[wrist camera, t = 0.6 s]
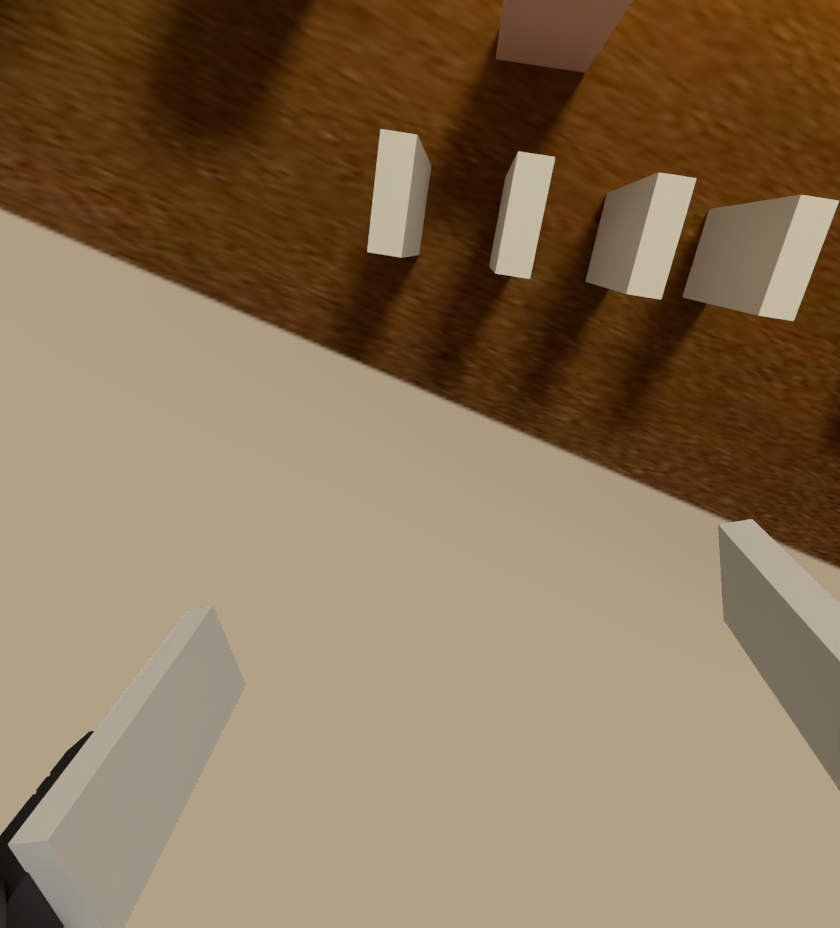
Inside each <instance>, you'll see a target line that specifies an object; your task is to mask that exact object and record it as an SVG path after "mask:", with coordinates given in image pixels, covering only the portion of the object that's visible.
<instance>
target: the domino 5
mask: <svg viewBox="0 0 840 928" xmlns="http://www.w3.org/2000/svg"><path fill="white" fill-rule="evenodd" d="M838 202H839V201H838V200H831V199H825V198H818V197H812V196H806V195H796V196H790V197H784V198H778V199H771V200H765V201H759V202H753V203H746V204H740V205H734V206H727V207H721V208H715V209H709V211H708V214H707V218H706V221H705V224H704V228H703V231H702V234H701V238H700V241H699V244H698V247H697V251H696V254H695V257H694V261H693V264H692V267H691V270H690V274H689V277H688V280H687V284H686V287H685V290H684V293H683V298H687V299H691V300H695V301H699V302H704V303H708V304H712V305H716V306H721V307H725V308H729V309H733V310H738V311H742V312H746V313H750V314H755V315H759V316H765V317H771V318H778V319H784V320H790V321H794V319H795V316H796V314H797V311H798V308H799V306H800V303H801V301H802V298H803V295H804V293H805V290H806V287H807V285H808V282H809V279H810V277H811V274H812V271H813V269H814V266H815V263H816V261H817V258H818V255H819V253H820V250H821V248H822V245H823V242H824V240H825V237H826V234H827V232H828V229H829V226H830V224H831V221H832V218H833V216H834V213H835V210H836V208H837V205H838Z"/></svg>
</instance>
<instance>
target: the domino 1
mask: <svg viewBox="0 0 840 928" xmlns="http://www.w3.org/2000/svg"><path fill="white" fill-rule="evenodd" d="M430 173H431V164H430V161H429V159H428V157H427V155H426V153H425V150H424V148H423V146H422V144H421V142H420V139H419V137H418V135H416V134H410V133H403V132H397V131H390V130H384V129H380V138H379V147H378V156H377V165H376V174H375V184H374V193H373V202H372V211H371V220H370V230H369V239H368V248H367V252H369V253H375V254H382V255H388V256H394V257H400V258H403V257H409V256H416V255H419V252H420V245H421V237H422V230H423V223H424V216H425V209H426V202H427V195H428V187H429V180H430Z"/></svg>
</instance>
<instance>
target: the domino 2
mask: <svg viewBox="0 0 840 928" xmlns="http://www.w3.org/2000/svg"><path fill="white" fill-rule="evenodd" d="M554 161H555V157H552V156H546V155H539V154H533V153H527V152H520V151H518V152H517V154H516V156H515V159H514V161H513V163H512V165H511V167H510V169H509V171H508V173H507V175H506V177H505V182H504V187H503V193H502V198H501V204H500V209H499V215H498V220H497V226H496V231H495V237H494V242H493V248H492V253H491V258H490V264H489V267H490V268H491V269H492V270H493V272H494V273H495V274H502V275H508V276H514V277H520V278H526V279H530V276H531V271H532V267H533V262H534V257H535V252H536V247H537V243H538V238H539V233H540V228H541V223H542V219H543V214H544V209H545V204H546V199H547V195H548V190H549V185H550V180H551V176H552V171H553V166H554Z"/></svg>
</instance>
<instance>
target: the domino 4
mask: <svg viewBox="0 0 840 928" xmlns="http://www.w3.org/2000/svg"><path fill="white" fill-rule="evenodd" d="M696 179H697V178H691V177H685V176H678V175H672V174H666V173H656V174H654V175H651V176H649V177H646V178H644V179H641V180H639V181H636V182H634V183H631V184H629V185H626V186H624V187H621V188H619V189H616V190H614V191H611V192H609V193H607V195H606V199H605V203H604V207H603V211H602V215H601V219H600V224H599V228H598V232H597V236H596V240H595V244H594V248H593V252H592V257H591V261H590V265H589V269H588V273H587V277H586V281H585V282H588V283H591V284H594V285H598V286H601V287H604V288H608V289H611V290H615V291H618V292H621V293H625V294H630V295H636V296H642V297H648V298H654V299H662V295H663V292H664V289H665V285H666V282H667V278H668V275H669V271H670V268H671V265H672V261H673V258H674V254H675V251H676V247H677V244H678V241H679V237H680V234H681V230H682V227H683V223H684V220H685V217H686V213H687V210H688V206H689V203H690V199H691V196H692V193H693V189H694V186H695V182H696Z"/></svg>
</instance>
